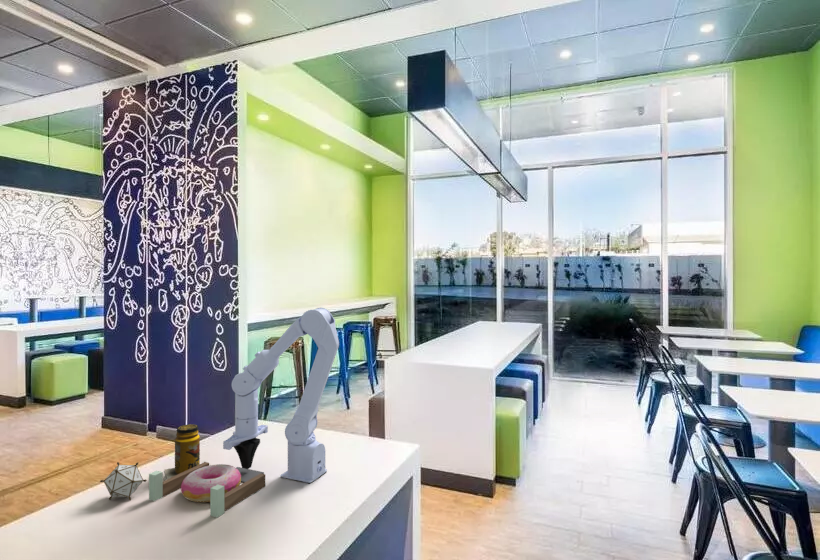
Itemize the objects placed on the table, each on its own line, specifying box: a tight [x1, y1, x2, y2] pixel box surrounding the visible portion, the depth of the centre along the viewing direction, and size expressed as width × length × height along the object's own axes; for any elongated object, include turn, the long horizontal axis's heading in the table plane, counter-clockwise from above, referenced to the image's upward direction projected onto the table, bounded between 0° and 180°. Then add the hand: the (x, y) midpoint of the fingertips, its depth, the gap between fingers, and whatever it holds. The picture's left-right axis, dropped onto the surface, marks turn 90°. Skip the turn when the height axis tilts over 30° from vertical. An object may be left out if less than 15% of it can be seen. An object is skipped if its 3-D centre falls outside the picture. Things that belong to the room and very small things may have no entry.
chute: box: [148, 461, 266, 518], centre depth 111 cm, size 21×16×6 cm
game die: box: [99, 461, 148, 501], centre depth 109 cm, size 9×8×10 cm
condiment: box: [164, 423, 201, 480], centre depth 123 cm, size 7×8×12 cm
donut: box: [180, 463, 242, 503], centre depth 112 cm, size 14×13×5 cm
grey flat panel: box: [235, 466, 265, 484], centre depth 121 cm, size 9×6×1 cm
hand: (246, 467), depth 122 cm, fingers closed
